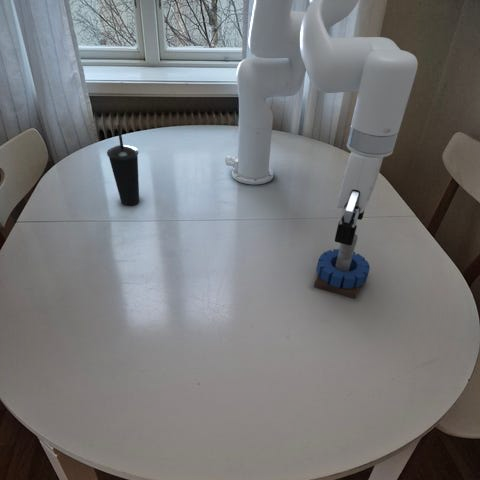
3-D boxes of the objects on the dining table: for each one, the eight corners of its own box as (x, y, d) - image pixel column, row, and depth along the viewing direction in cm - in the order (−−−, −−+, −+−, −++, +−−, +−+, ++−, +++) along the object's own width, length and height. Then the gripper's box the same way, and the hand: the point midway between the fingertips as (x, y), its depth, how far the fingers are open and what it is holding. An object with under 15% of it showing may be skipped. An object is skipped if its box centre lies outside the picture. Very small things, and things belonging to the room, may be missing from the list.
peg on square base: (313, 287, 93) (322, 241, 85) (324, 264, 99) (333, 220, 91) (355, 298, 90) (368, 253, 82) (363, 274, 96) (376, 230, 89)
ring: (310, 279, 92) (312, 269, 90) (325, 253, 99) (327, 244, 98) (359, 294, 89) (362, 284, 87) (371, 267, 96) (374, 257, 94)
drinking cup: (110, 204, 115) (95, 127, 101) (125, 192, 120) (114, 117, 106) (134, 211, 113) (123, 133, 99) (149, 198, 118) (141, 122, 104)
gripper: (359, 118, 76) (339, 204, 88) (337, 154, 65) (317, 248, 77) (402, 125, 75) (376, 213, 87) (387, 164, 63) (359, 259, 75)
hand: (348, 229), depth 82 cm, fingers open, 9 cm apart
